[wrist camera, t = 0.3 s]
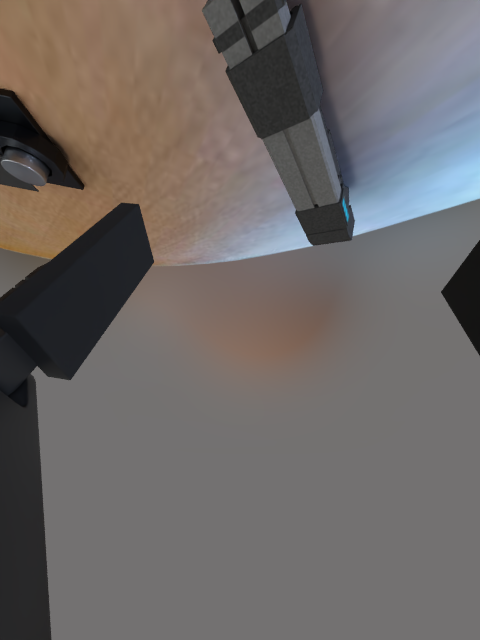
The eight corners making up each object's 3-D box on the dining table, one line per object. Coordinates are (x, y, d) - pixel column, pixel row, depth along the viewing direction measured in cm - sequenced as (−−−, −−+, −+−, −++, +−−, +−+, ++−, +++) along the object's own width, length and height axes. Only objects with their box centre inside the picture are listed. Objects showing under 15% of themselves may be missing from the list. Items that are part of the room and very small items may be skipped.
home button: (23, 169, 31) (19, 182, 31) (-5, 141, 27) (-10, 156, 27) (57, 175, 31) (53, 189, 31) (34, 149, 27) (29, 164, 27)
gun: (323, 205, 32) (304, 267, 27) (252, -38, 18) (193, 10, 14) (363, 197, 29) (349, 263, 25) (316, -97, 15) (267, -60, 11)
